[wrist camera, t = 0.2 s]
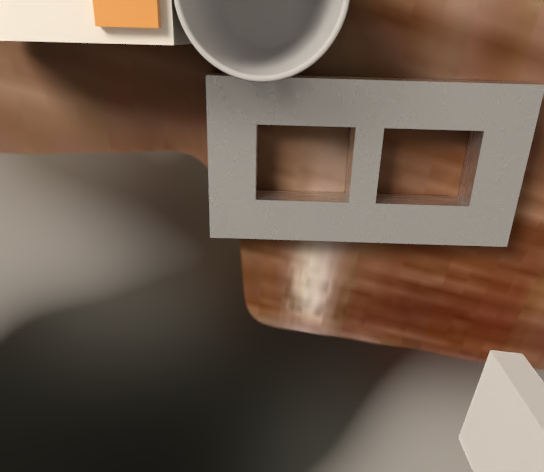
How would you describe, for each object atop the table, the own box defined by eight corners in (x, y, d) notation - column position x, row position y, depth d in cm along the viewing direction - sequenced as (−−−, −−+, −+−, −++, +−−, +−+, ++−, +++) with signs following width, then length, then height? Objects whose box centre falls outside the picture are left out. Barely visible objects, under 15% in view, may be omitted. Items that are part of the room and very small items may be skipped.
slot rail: (210, 72, 35) (205, 75, 32) (527, 81, 34) (545, 84, 32) (214, 225, 39) (210, 237, 37) (493, 234, 39) (506, 246, 37)
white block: (-4, -26, 32) (-125, -53, 23) (201, -21, 32) (166, -45, 23) (7, 37, 34) (-101, 38, 24) (203, 42, 34) (171, 45, 24)
